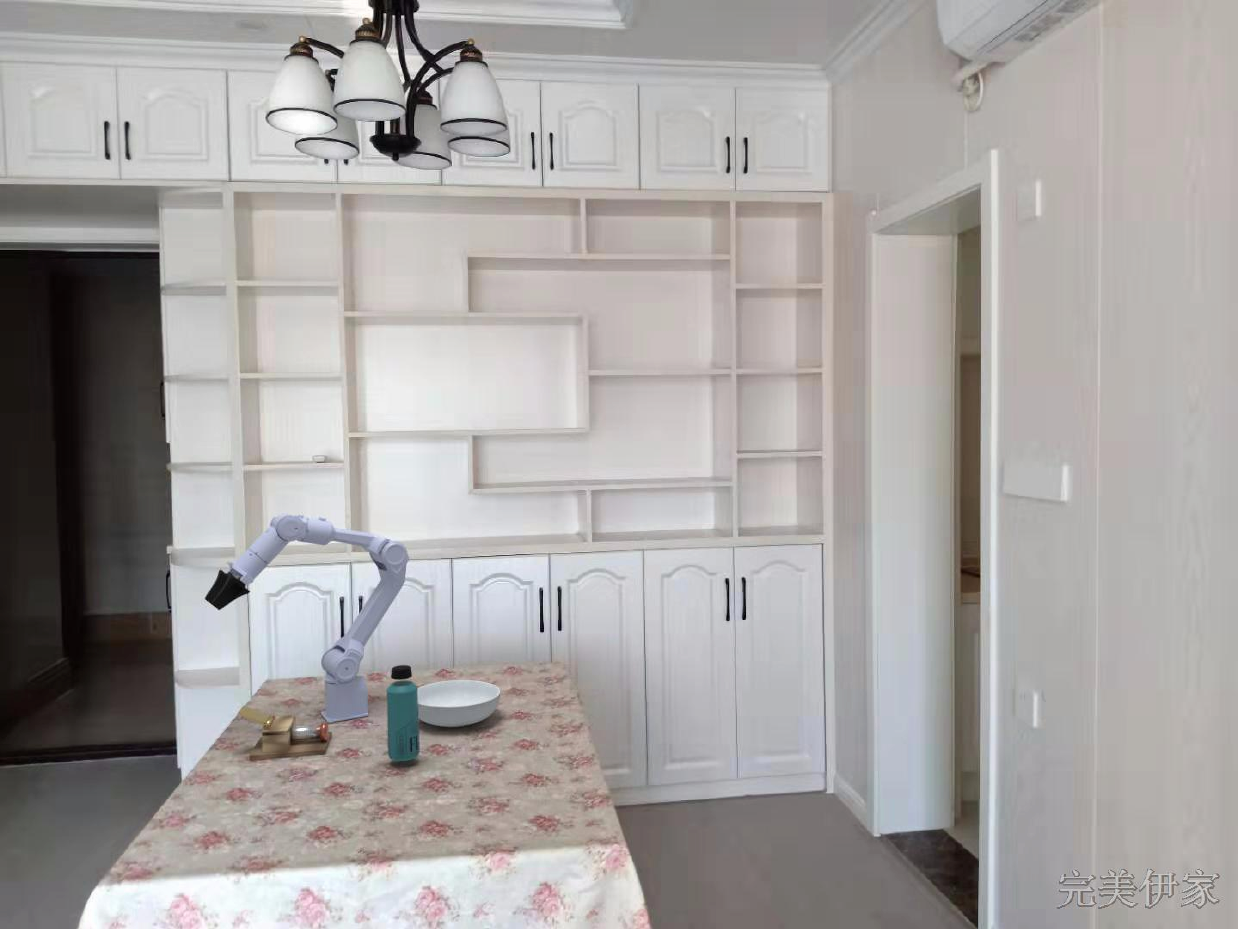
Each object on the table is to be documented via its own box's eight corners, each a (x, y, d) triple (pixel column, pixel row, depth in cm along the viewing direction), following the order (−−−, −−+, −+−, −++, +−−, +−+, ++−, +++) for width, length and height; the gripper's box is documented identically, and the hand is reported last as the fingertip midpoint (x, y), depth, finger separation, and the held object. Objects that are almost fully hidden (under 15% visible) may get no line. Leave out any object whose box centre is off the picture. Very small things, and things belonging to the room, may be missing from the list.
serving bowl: (493, 737, 191) (492, 706, 191) (399, 737, 192) (398, 706, 192) (507, 706, 212) (506, 678, 212) (422, 706, 213) (422, 679, 212)
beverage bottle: (412, 770, 174) (409, 672, 173) (381, 767, 175) (379, 670, 174) (425, 757, 180) (423, 663, 179) (396, 755, 181) (393, 661, 180)
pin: (328, 737, 189) (328, 719, 189) (326, 743, 185) (325, 725, 185) (279, 740, 187) (279, 723, 187) (276, 747, 184) (275, 729, 183)
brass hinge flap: (272, 721, 187) (274, 717, 187) (268, 728, 183) (270, 723, 183) (241, 708, 186) (243, 704, 186) (236, 715, 181) (238, 711, 181)
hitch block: (331, 736, 193) (331, 707, 193) (325, 754, 182) (324, 724, 182) (260, 741, 190) (259, 712, 190) (249, 760, 179) (248, 729, 179)
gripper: (236, 542, 198) (191, 588, 192) (251, 548, 186) (203, 598, 181) (259, 562, 201) (215, 608, 195) (276, 569, 189) (229, 618, 184)
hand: (211, 604), depth 188 cm, fingers open, 7 cm apart
